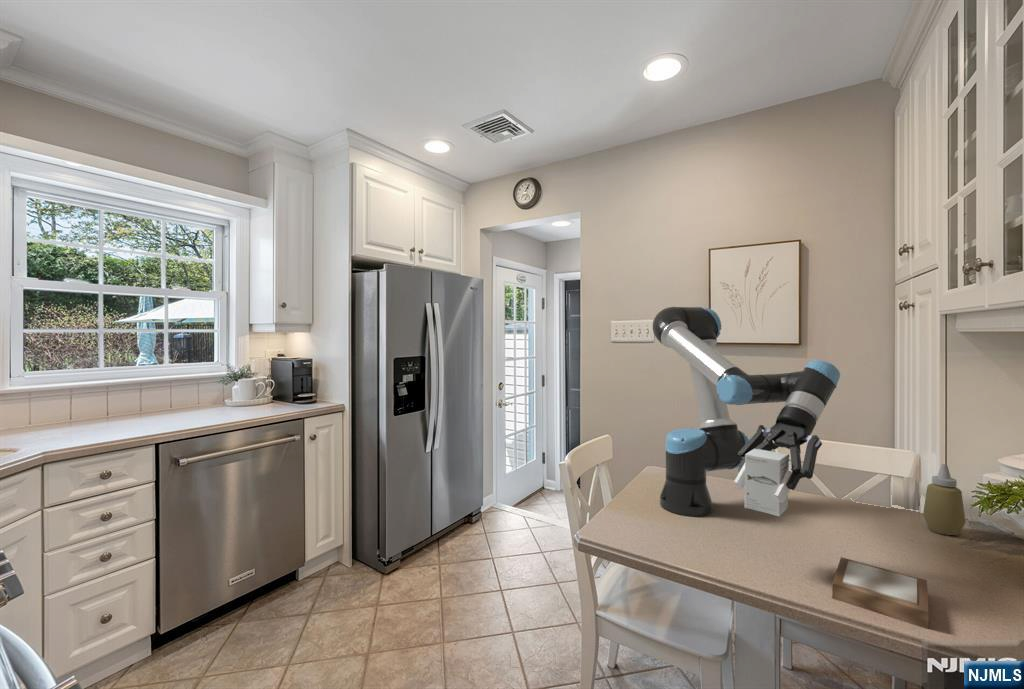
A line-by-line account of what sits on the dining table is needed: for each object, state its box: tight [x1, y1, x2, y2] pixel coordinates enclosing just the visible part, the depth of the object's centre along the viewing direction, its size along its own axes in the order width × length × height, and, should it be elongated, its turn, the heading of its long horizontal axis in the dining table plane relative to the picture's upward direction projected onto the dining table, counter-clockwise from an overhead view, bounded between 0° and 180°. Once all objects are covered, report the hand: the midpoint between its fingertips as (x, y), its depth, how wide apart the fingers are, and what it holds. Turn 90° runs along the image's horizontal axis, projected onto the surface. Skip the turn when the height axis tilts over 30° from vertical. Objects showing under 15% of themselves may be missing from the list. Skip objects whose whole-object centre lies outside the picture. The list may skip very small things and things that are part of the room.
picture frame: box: [831, 556, 930, 629], centre depth 89 cm, size 14×14×3 cm
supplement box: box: [743, 449, 790, 517], centre depth 100 cm, size 7×7×13 cm
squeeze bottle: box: [922, 463, 966, 536], centre depth 117 cm, size 8×8×18 cm
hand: (757, 491), depth 99 cm, fingers closed on supplement box, 9 cm apart
